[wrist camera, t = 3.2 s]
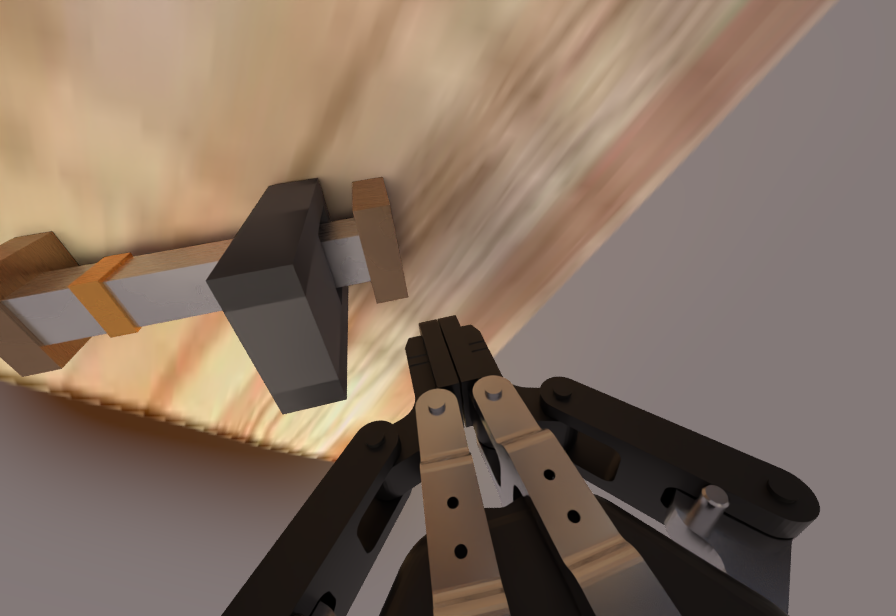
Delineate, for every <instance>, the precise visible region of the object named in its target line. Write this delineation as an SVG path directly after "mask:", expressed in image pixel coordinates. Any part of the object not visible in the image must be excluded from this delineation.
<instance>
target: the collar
mask: <svg viewBox="0 0 896 616" xmlns="http://www.w3.org/2000/svg"><path fill="white" fill-rule="evenodd" d="M326 222H331V220H330V216H329V213H328V210H327V206H326V203H325V200H324V197H323V193H322V190H321V187H320V184H319V180H318V178H315V179H309V180H303V181H297V182H291V183H284V184H278V185H272V186H269V187H268V188H267V189H266V191H265V192H264V194H263V195H262V197H261V198H260V200H259V201H258V203H257V204H256V206H255V207H254V209H253V210H252V212H251V213H250V215H249V216H248V218H247V219H246V221H245V222H244V224H243V225H242V227H241V228H240V230H239V231H238V233H237V234H236V236H235V237H234V239H233V240H232V242H231V243H230V245H229V246H228V248H227V249H226V251H225V252H224V254H223V255H222V257H221V258H220V260H219V261H218V263H217V264H216V266H215V267H214V269H213V270H212V272H211V273H210V275H209V276H208V278H207V279H206V283H207V285H208V286H209V288H210V290H211V291H212V293H213V295H214V297H215V298H216V300H217V302H218V304H219V305H220V307H221V309H222V310H223V312H224V314H225V316H226V317H227V319H228V321H229V323H230V324H231V326H232V328H233V329H234V331H235V333H236V335H237V336H238V338H239V340H240V342H241V343H242V345H243V347H244V348H245V350H246V352H247V354H248V355H249V357H250V359H251V361H252V362H253V364H254V366H255V367H256V369H257V371H258V373H259V374H260V376H261V378H262V380H263V381H264V383H265V385H266V386H267V388H268V390H269V392H270V393H271V395H272V397H273V399H274V400H275V402H276V404H277V405H278V407H279V409H280V411H281V412H282V414H287V413H291V412H295V411H300V410H304V409H308V408H312V407H317V406H321V405H325V404H329V403H334V402H338V401H342V400H346V399H347V346H348V286H343V287H338V288H336V287H335V284H334V281H333V278H332V275H331V272H330V269H329V266H328V263H327V260H326V257H325V254H324V251H323V248H322V245H321V242H320V240H319V237H318V230H319V225H320V224H321V223H326Z"/></svg>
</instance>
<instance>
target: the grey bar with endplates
mask: <svg viewBox="0 0 896 616" xmlns="http://www.w3.org/2000/svg"><path fill="white" fill-rule="evenodd" d="M352 197H353V215H354V218H349V219H343V220H338V221H332V222H326V223H321V224H320V225H319V230H318V237H319V240H320V242H321V245H322V248H323V251H324V254H325V257H326V260H327V263H328V266H329V269H330V272H331V275H332V278H333V281H334V284H335V287H336V288H338V287H343V286H348V285H353V284H358V283H363V282H368V281H371V283H372V287H373V290H374V294H375V298H376V302H377V304H378V303H383V302H387V301H392V300H397V299H402V298H407V297H408V293H407V288H406V283H405V278H404V273H403V268H402V263H401V258H400V253H399V248H398V243H397V238H396V233H395V228H394V223H393V218H392V213H391V208H390V203H389V199H388V196H387V192H386V188H385V184H384V181H383V177H379V178H373V179H367V180H361V181H355V182H352ZM232 240H233V239H230V240H224V241H219V242H213V243H207V244H202V245H196V246H190V247H185V248H179V249H173V250H168V251H162V252H156V253H151V254H145V255H139V256H134V257H133V255H132V254H131V253H125V254H119V255H113V256H107V257H104V258H103V259H101V260H100V261H99V262H98V263H94V264H88V265H83V266H79V265H78V263H77V262H76V261H75V260H74V258H73V257H72V256H71V255H70V253H69V252H68V251H67V250H66V248H65V247H64V246H63V245H62V243H61V242H60V241H59V240H58V238H57V237H56V236H55V235H54V233H53V232H45V233H39V234H33V235H27V236H21V237H15V238H13V239H11V240H9V241H7V242H5V243H3V244H2V245H0V357H1V358H2V359H3V360H4V361H5V362H6V363H7V364H9V365H10V366H11V367H12V368H13V369H14V370H15V371H16V372H18V373H19V374H20V375H21V376H22V377H24V376H29V375H34V374H38V373H43V372H48V371H53V370H58V369H62V368H63V367H64V366H65V365H66V364H67V363H68V361H69V360H70V359H71V358H72V357H73V356H74V355H75V354H76V353H77V352H78V351H79V350H80V349H81V348H82V347H83V346H84V345H85V343H86V342H87V341H88V340H89V339H90V338H91V337H92V336H96V335H101V334H106V333H107V334H108V335H109V336H110V337H116V336H121V335H126V334H131V333H136V332H138V331H139V330H140V329H141V327H142V326H147V325H152V324H157V323H162V322H167V321H172V320H177V319H182V318H187V317H192V316H197V315H202V314H207V313H212V312H217V311H222V309H221V307H220V305H219V304H218V302H217V300H216V298H215V297H214V295H213V293H212V291H211V290H210V288H209V286H208V285H207V283H206V279H207V278H208V276H209V275H210V273H211V272H212V270H213V269H214V267H215V266H216V264H217V263H218V261H219V260H220V258H221V257H222V255H223V254H224V252H225V251H226V249H227V248H228V246H229V245H230V243H231V242H232Z"/></svg>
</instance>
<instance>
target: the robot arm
mask: <svg viewBox="0 0 896 616" xmlns="http://www.w3.org/2000/svg"><path fill="white" fill-rule="evenodd" d="M419 329H420V334H421V336H417V337H413V338H409V339H408V341H407V344H406V347H405V350H406V355H407V360H408V365H409V369H410V374H411V379H412V384H413V389H414V393H415V404H414V407H413V409H412V410H411V412H410V413H409V414H408V415H407V416H405V417H404V418H403V419H401V420H399V421H398V422H396V423H394V424H391V423H389V422H387V421H374V422H371V423H368V424H366V425H365V426H363V427H362V428H361V429H360V430H359V431H358V432H357V433H356V435H355V436H354V437H353V439H352V440H351V441H350V443H349V444H348V445H347V447H346V448H345V450H344V451H343V452H342V454H341V455H340V456H339V458H338V459H337V460H336V462H335V463H334V464H333V466H332V467H331V468H330V470H329V471H328V472H327V474H326V475H325V477H324V478H323V479H322V481H321V482H320V483H319V485H318V486H317V487H316V489H315V490H314V491H313V493H312V494H311V495H310V497H309V498H308V500H307V501H306V502H305V503H304V505H303V506H302V507H301V509H300V510H299V512H298V513H297V514H296V516H295V517H294V518H293V520H292V521H291V522H290V524H289V525H288V526H287V528H286V529H285V530H284V532H283V533H282V534H281V536H280V537H279V539H278V540H277V541H276V542H275V544H274V545H273V547H272V548H271V549H270V551H269V552H268V553H267V555H266V556H265V558H264V559H263V560H262V561H261V563H260V564H259V566H258V567H257V568H256V569H255V571H254V572H253V574H252V575H251V576H250V578H249V579H248V580H247V582H246V583H245V584H244V586H243V587H242V588H241V590H240V591H239V592H238V594H237V595H236V596H235V598H234V599H233V601H232V602H231V603H230V605H229V606H228V607H227V608H226V610H225V611H224V613H223V614H222V615H221V616H346V615H347V613H348V611H349V609H350V607H351V605H352V603H353V601H354V600H355V598H356V596H357V594H358V592H359V590H360V588H361V586H362V585H363V583H364V581H365V579H366V577H367V575H368V573H369V571H370V569H371V568H372V566H373V564H374V562H375V560H376V558H377V556H378V554H379V552H380V551H381V549H382V547H383V545H384V543H385V541H386V539H387V537H388V535H389V533H390V532H391V530H392V528H393V526H394V524H395V522H396V520H397V518H398V516H399V515H400V513H401V511H402V509H403V507H404V505H405V503H406V501H407V499H408V498H409V496H410V493H411V490H412V488H413V487H415V486H416V485H418V484H419V483H422V493H423V504H424V514H425V524H426V535H425V536H423V537H422V538H421V539H420V540H419V541H418V542H417V543H416V544H415V545H414V546H413V548H412V549H411V550H410V552H409V553H408V555H407V556H406V558H405V560H404V562H403V563H402V565H401V567H400V569H399V571H398V574H397V576H396V578H395V581H394V583H393V585H392V587H391V590H390V592H389V594H388V597H387V599H386V601H385V603H384V606H383V608H382V610H381V612H380V615H379V616H789V615H788V605H789V585H790V565H791V544H792V541H793V540H794V539H795V538H796V537H797V536H798V535H799V534H800V533H801V532H802V531H803V530H804V529H805V528H807V527H808V526H809V525H810V524H811V523H812V522H813V521H814V520H815V519H816V518H817V517H818V515H819V512H820V506H819V502H818V500H817V498H816V496H815V494H814V493H813V492H812V490H811V489H810V488H809V487H808V486H807V485H806V484H805V483H804V482H802V481H801V480H800V479H799V478H797V477H796V476H794V475H793V474H791V473H789V472H787V471H785V470H783V469H781V468H778V467H776V466H774V465H772V464H769V463H767V462H765V461H762V460H760V459H757V458H755V457H753V456H750V455H748V454H746V453H743V452H741V451H738V450H736V449H734V448H732V447H729V446H727V445H724V444H722V443H720V442H718V441H715V440H713V439H710V438H708V437H706V436H703V435H701V434H698V433H696V432H694V431H692V430H689V429H687V428H685V427H682V426H679V425H677V424H675V423H673V422H670V421H668V420H666V419H663V418H661V417H659V416H656V415H654V414H652V413H649V412H647V411H645V410H642V409H640V408H638V407H635V406H632V405H630V404H628V403H626V402H623V401H621V400H619V399H616V398H614V397H611V396H609V395H607V394H605V393H602V392H600V391H598V390H595V389H593V388H590V387H588V386H586V385H583V384H581V383H578V382H576V381H574V380H572V379H569V378H565V377H552V378H549V379H547V380H546V381H544V382H543V383H542V385H541V387H540V388H525V387H519V386H515V385H513V384H511V382H510V381H509V380H507V379H506V378H503V376H502V375H501V373H500V370H499V369H498V367H497V364H496V363H495V361H494V359H493V357H492V355H491V353H490V351H489V349H488V347H487V345H486V343H485V342H484V339H483V337H482V335H481V333H480V331H479V330H477V329H476V328H475V327H473V326H472V325H466V326H462V327H461V326H460V324H459V321H458V319H457V317H456V315H453V316H449V317H444V318H440V319H438V322H437V319H435V320H431V321H426V322H422V323H419ZM463 420H464V421H463ZM464 423H465V426H466V427H469V426H473V427H474V430H475V433H476V440H477V445H478V448H479V450H480V452H481V455H482V457H483V459H484V462H485V464H486V466H487V468H488V471H489V473H490V475H491V477H492V480H493V482H494V484H495V487H496V489H497V491H498V494H499V497H500V500H501V505H502V508H484V506H483V502H482V497H481V493H480V489H479V485H478V481H477V476H476V472H475V467H474V463H473V459H472V455H471V453H470V452H469V449H468V444H467V440H466V436H465V431H464ZM584 479H585V480H587V481H589V482H590V483H592V484H594V485H596V486H597V487H599V488H601V489H603V490H604V491H606V492H608V493H610V494H611V495H613V496H615V497H617V498H618V499H620V500H622V501H624V502H625V503H627V504H629V505H631V506H632V507H634V508H636V509H638V510H639V511H641V512H643V513H645V514H646V515H648V516H650V517H651V518H653V519H655V520H657V521H658V522H660V523H662V524H664V525H665V528H666V531H667V532H668V535H669V536H670V538H671V539H670V538H668V537H667V536H665V535H663V534H662V533H660V532H658V531H657V530H655V529H654V528H652V527H651V526H649V525H647V524H645V523H644V522H642V521H641V520H639V519H638V518H636V517H634V516H633V515H631V514H630V513H628V512H626V511H625V510H623V509H622V508H620V507H618V506H617V505H615V504H613V503H612V502H610V501H608V500H606V499H604V498H602V497H600V496H598V495H595V494H593V493H592V491H591V490H590V489H589V487H588V485H587V484H586V482H585V481H584Z"/></svg>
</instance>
